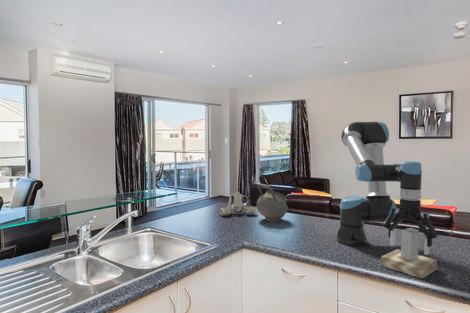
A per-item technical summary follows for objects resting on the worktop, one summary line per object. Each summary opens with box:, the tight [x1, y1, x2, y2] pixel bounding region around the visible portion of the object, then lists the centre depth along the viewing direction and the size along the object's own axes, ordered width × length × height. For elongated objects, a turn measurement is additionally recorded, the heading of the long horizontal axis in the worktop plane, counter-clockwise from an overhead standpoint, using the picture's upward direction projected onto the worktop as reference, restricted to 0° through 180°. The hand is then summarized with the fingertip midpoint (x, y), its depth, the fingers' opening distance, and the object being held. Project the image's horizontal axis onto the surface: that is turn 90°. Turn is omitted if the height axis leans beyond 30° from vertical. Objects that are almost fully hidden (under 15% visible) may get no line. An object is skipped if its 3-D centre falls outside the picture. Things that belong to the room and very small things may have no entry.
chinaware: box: [219, 190, 258, 217], centre depth 226 cm, size 28×17×17 cm, turn 102°
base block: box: [380, 249, 438, 279], centre depth 130 cm, size 16×14×4 cm
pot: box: [256, 183, 288, 223], centre depth 208 cm, size 21×21×25 cm
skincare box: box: [400, 227, 420, 261], centre depth 130 cm, size 6×4×12 cm
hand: (408, 249), depth 130 cm, fingers open, 13 cm apart
